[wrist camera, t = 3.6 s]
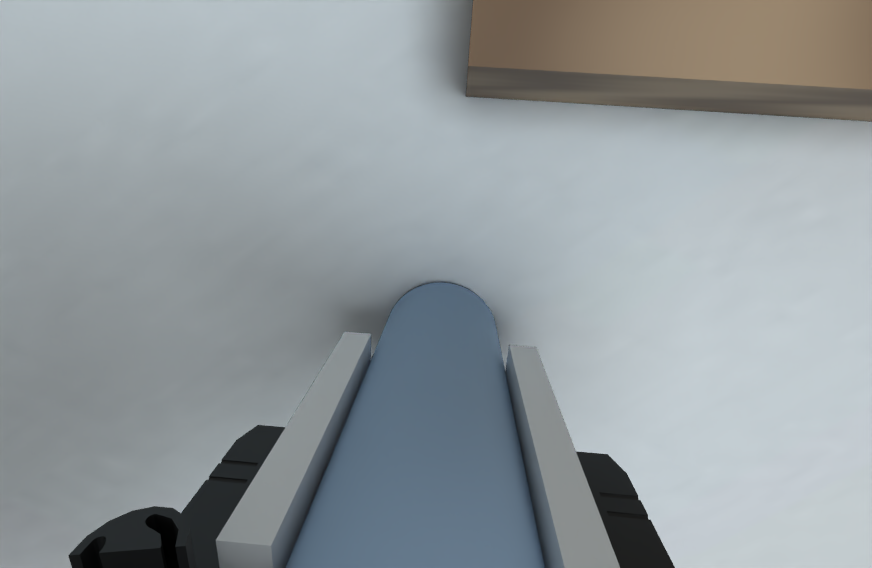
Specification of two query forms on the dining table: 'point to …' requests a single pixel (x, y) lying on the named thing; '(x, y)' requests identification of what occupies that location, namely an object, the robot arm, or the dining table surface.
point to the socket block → (678, 54)
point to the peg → (427, 451)
